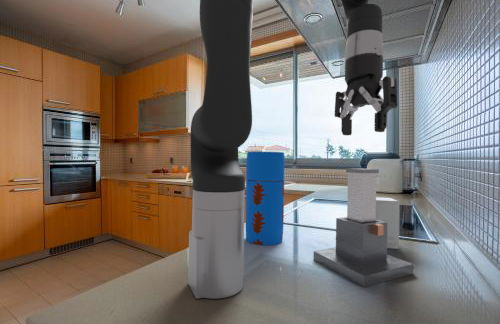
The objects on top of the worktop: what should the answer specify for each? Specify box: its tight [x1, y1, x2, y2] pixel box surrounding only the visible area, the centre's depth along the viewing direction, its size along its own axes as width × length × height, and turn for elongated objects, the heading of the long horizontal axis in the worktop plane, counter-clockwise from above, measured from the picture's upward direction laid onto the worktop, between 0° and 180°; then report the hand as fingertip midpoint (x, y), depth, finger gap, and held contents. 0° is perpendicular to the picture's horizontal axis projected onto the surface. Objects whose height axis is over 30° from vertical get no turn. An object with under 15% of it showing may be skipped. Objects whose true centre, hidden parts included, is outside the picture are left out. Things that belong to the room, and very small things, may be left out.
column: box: [345, 168, 380, 224], centre depth 56 cm, size 5×5×19 cm
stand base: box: [312, 216, 414, 288], centre depth 56 cm, size 14×14×10 cm
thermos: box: [245, 151, 285, 246], centre depth 74 cm, size 11×11×25 cm
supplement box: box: [376, 196, 401, 250], centre depth 72 cm, size 7×7×13 cm
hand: (362, 133), depth 56 cm, fingers open, 8 cm apart
